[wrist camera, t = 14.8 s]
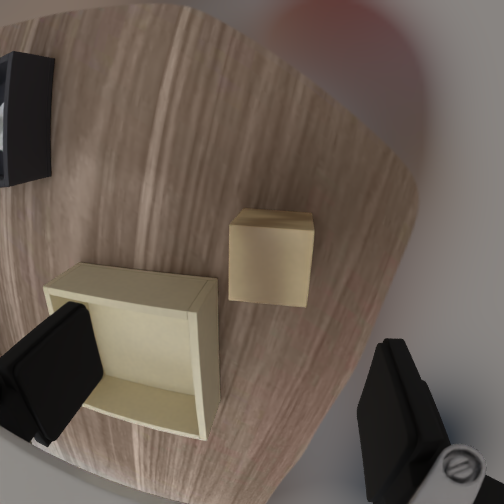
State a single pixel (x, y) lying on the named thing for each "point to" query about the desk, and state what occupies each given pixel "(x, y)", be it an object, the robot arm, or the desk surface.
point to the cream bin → (150, 344)
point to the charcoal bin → (25, 117)
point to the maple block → (270, 257)
